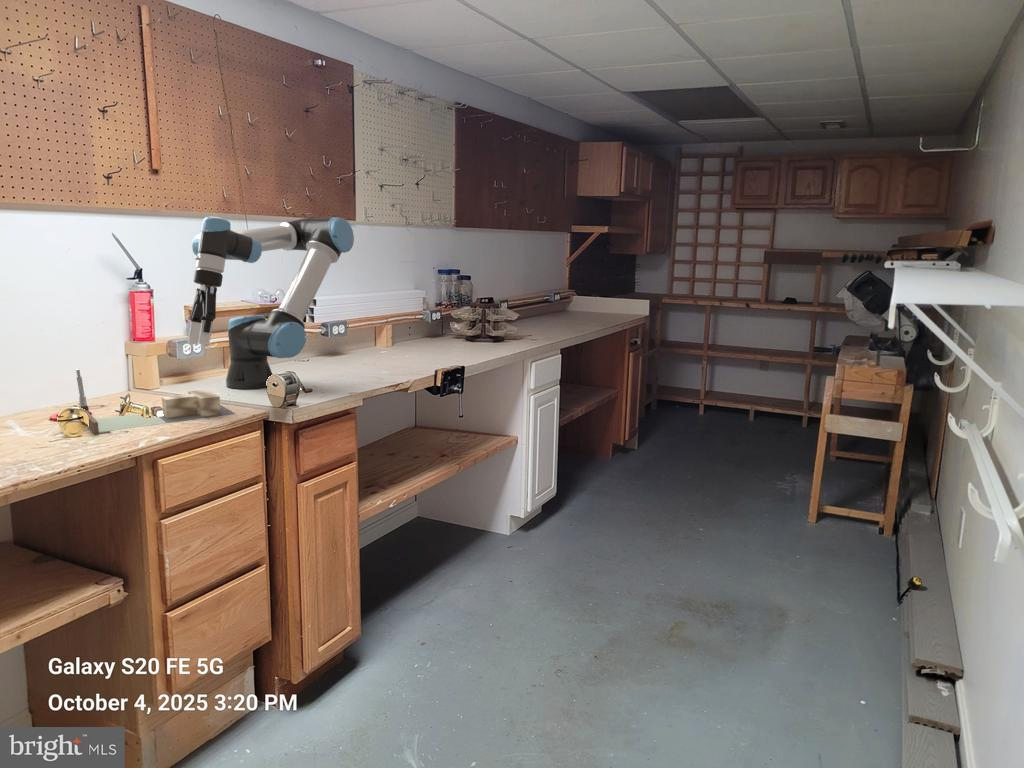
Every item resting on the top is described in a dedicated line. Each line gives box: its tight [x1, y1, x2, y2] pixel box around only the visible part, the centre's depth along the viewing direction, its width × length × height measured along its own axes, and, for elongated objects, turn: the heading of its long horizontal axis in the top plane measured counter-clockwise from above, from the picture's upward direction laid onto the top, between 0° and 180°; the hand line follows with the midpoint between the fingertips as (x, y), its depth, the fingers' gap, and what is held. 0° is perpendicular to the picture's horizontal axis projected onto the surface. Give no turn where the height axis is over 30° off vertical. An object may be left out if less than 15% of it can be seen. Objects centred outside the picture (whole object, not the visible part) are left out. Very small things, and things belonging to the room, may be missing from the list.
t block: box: [161, 388, 221, 418], centre depth 207 cm, size 13×12×5 cm
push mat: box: [85, 404, 236, 435], centre depth 202 cm, size 35×16×3 cm, turn 128°
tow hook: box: [49, 368, 93, 422], centre depth 202 cm, size 8×13×9 cm
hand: (198, 344), depth 213 cm, fingers open, 13 cm apart
